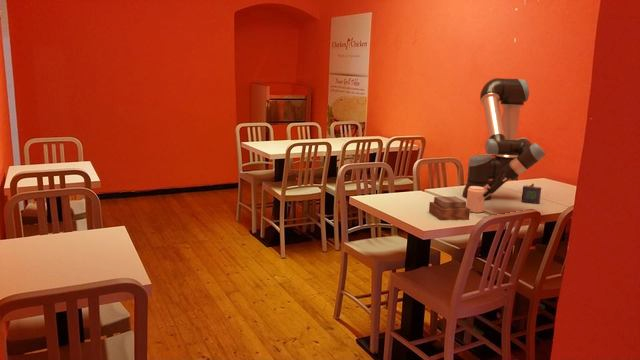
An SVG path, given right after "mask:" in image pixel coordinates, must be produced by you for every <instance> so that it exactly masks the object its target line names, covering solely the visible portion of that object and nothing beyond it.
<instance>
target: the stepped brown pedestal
mask: <svg viewBox="0 0 640 360" xmlns="http://www.w3.org/2000/svg"><path fill="white" fill-rule="evenodd" d="M433 197H434V198H433V201H429V205H428V207H429V208H428V213H429V214H431V215H433V216H434V217H436V218H437V219H439V220H440V221H454V220H455V221H459V220H464V221H465V220H470V216H471V215H470V213H471V212H470V209H469V208H467V207H466V204H467V201H465V200H463V199H461V198H459V197H458V196H453V195H451V196H433Z"/></svg>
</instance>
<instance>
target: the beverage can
mask: <svg viewBox="0 0 640 360" xmlns="http://www.w3.org/2000/svg"><path fill="white" fill-rule="evenodd" d="M484 191H485V190H484V188H483V187H479V186H470V187H469V188H468V193H467V198H466V207H467V208H469V209H470V213H475V214H479V213H483V212H484V204H485V200H483V201H481V202H479V201H478V200H477V197H478V196H479V195H481V194H482V193H483V192H484Z"/></svg>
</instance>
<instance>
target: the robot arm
mask: <svg viewBox="0 0 640 360" xmlns="http://www.w3.org/2000/svg"><path fill="white" fill-rule="evenodd" d="M529 97H530V87H529V84H528V82H527V80H525V79H524V78H523V79H522V78H521V79H520V78H500V77H499V78H498V77H496V78H492V79H490V80H488V81H487V82H486V83H485V84H484V85H483V86H482V89H481V92H480V95H479V99H480V104H482V106H483V111H484V118H485V123H486V129H487V135H488V136H487V137H488V139H486V140H485V146H484V147H485V149H484V151H485V153H486V154H476V155H472V156H470V157H469V159H468V160H469V161H468V165H467V166H468V169H467V177H466V178H467V179H466V183H465V186H464V188H463V190H462V197H463V198H465V199H467V193H468V188H469V187H470V186H479V187H483V188H484V190H485V191H484V192H483V193H482V194H481V195H479V196H478V197H477V200H478V201H479V202H481V201H483V200H484V201H489V200H491V199H492V195H493V194H495V192H497V191H498V190H499V189H500V188H501V187H502V186H503V185H504V184H506V182H508V181H514V180H516V179H518V177H520V176H521V175H522V174H523V173H524V174H525V173H526V172H527V170H528V169H530V168H531V167H533V166H534V165H535V164H537V163H538V162H539V161H541V160H542V158H544V157H545V156H546V152H545V151H544V150H543V148H542V147H541V146H540V145H539V144H538V143H536V142H534V143H533V144H532V142H531V141H530V140H529V139H527V138H526V137H520V138H518V132H519V131H518V130H519V121H520V115H521V114H520V112H521V108H522V107H523V106H524V103H527V101H529ZM499 102H500V103H499ZM500 105H501V107H502V113H501V109H500ZM492 155H494V157H493V156H492ZM519 175H520V176H519Z"/></svg>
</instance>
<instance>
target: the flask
mask: <svg viewBox="0 0 640 360" xmlns="http://www.w3.org/2000/svg"><path fill="white" fill-rule="evenodd" d="M541 194H542V187H540V186H535V183H533V182H532V183H531V184H530V185H529V184H526V185H523V186H522V194H521V203H522V204H523V203H524V204H532V205H533V204H534V205H540V202H541Z"/></svg>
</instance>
